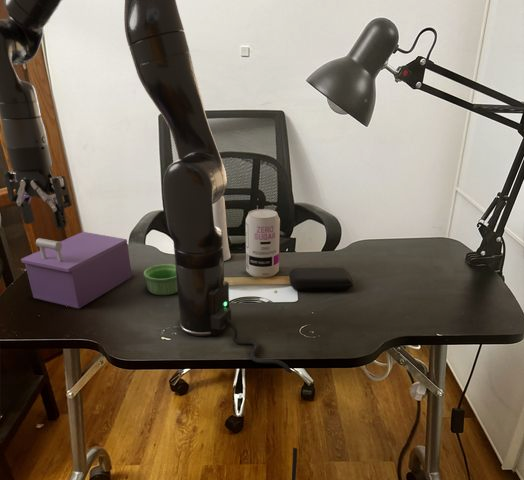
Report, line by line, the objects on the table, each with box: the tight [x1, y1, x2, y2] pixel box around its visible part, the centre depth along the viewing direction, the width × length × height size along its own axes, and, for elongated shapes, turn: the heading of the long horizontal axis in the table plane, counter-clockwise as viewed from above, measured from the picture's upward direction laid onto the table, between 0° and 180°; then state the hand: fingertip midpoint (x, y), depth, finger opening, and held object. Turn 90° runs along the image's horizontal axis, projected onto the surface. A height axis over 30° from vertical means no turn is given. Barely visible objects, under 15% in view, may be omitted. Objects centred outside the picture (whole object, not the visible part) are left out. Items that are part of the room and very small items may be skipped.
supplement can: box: [245, 208, 281, 279], centre depth 127 cm, size 8×8×15 cm
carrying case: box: [288, 266, 354, 292], centre depth 124 cm, size 11×3×15 cm
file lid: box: [20, 231, 128, 272], centre depth 116 cm, size 20×13×5 cm, turn 156°
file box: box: [24, 242, 133, 310], centre depth 120 cm, size 19×13×9 cm
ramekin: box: [143, 263, 178, 296], centre depth 121 cm, size 9×9×4 cm
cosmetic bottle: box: [213, 195, 231, 262], centre depth 133 cm, size 6×6×22 cm
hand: (45, 225), depth 107 cm, fingers open, 8 cm apart
